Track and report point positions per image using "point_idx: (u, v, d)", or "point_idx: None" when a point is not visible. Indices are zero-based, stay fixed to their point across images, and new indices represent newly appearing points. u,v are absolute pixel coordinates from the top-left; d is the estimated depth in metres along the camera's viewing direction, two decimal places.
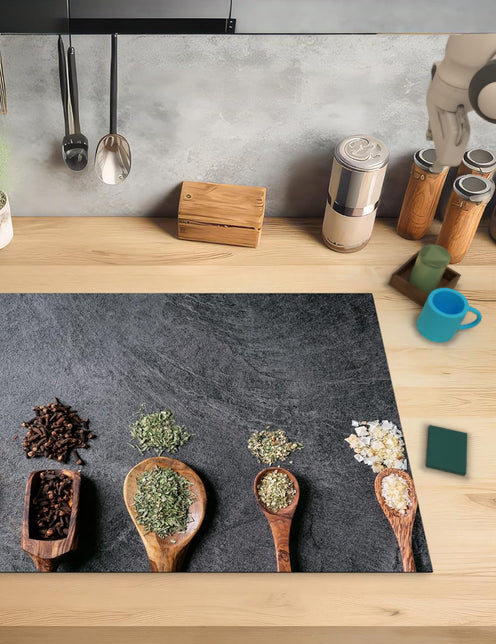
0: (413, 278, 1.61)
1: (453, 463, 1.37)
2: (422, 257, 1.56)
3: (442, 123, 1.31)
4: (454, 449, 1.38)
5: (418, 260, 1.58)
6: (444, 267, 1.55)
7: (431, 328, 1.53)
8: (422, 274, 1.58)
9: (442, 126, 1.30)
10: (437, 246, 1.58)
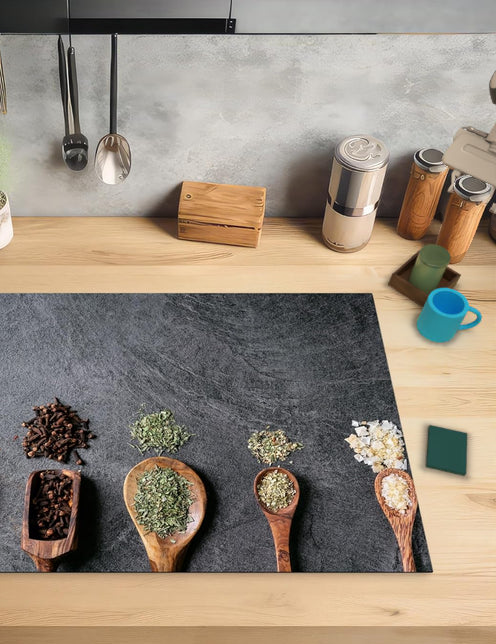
0: (413, 278, 1.61)
1: (453, 463, 1.37)
2: (422, 257, 1.56)
3: None
4: (454, 449, 1.38)
5: (418, 260, 1.58)
6: (444, 267, 1.55)
7: (431, 328, 1.53)
8: (422, 274, 1.58)
9: None
10: (437, 246, 1.58)
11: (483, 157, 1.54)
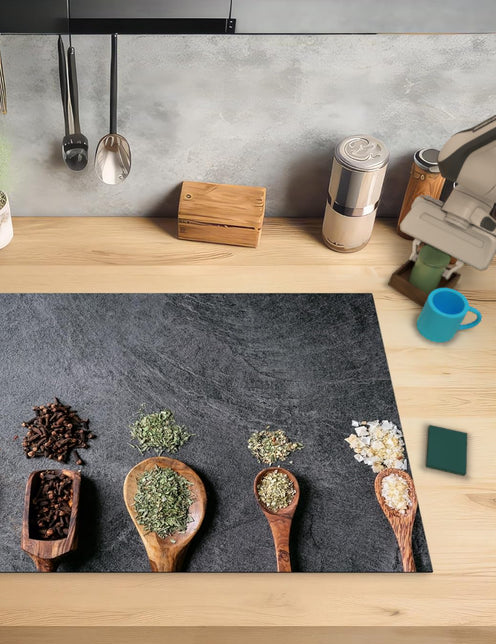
0: (413, 278, 1.61)
1: (453, 463, 1.37)
2: (422, 257, 1.56)
3: None
4: (454, 449, 1.38)
5: (418, 260, 1.58)
6: (444, 267, 1.55)
7: (431, 328, 1.53)
8: (422, 274, 1.58)
9: None
10: None
11: (439, 226, 1.57)
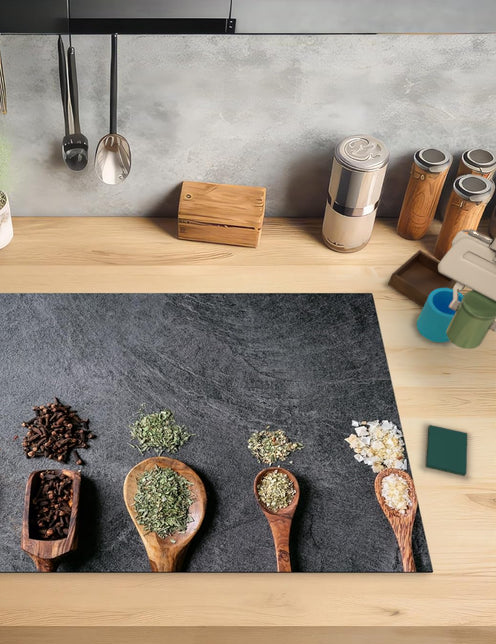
0: (454, 329, 1.32)
1: (453, 463, 1.37)
2: (466, 306, 1.28)
3: None
4: (454, 449, 1.38)
5: (461, 309, 1.29)
6: (493, 319, 1.27)
7: (431, 328, 1.53)
8: (465, 327, 1.30)
9: None
10: None
11: (487, 268, 1.28)
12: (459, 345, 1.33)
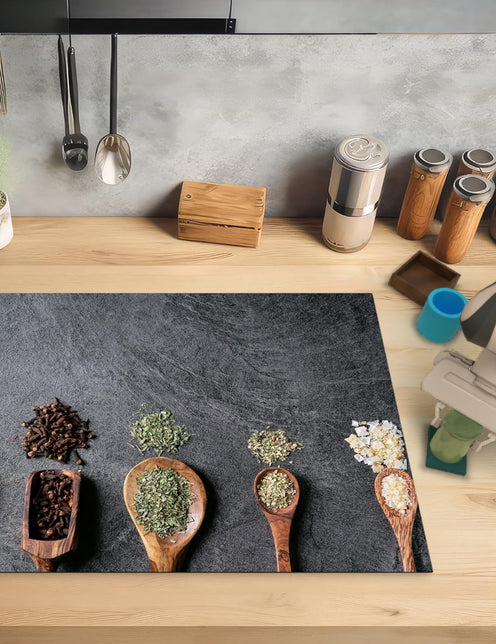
0: (437, 445, 1.36)
1: (453, 463, 1.37)
2: (448, 427, 1.31)
3: None
4: None
5: (443, 428, 1.32)
6: (474, 439, 1.30)
7: (431, 328, 1.53)
8: (447, 445, 1.33)
9: None
10: None
11: (468, 390, 1.32)
12: (442, 460, 1.37)
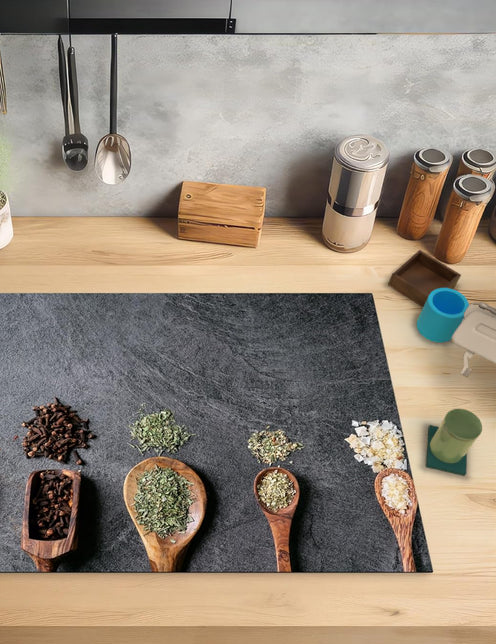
0: (437, 445, 1.36)
1: (453, 463, 1.37)
2: (448, 427, 1.31)
3: None
4: None
5: (443, 428, 1.32)
6: (474, 439, 1.30)
7: (431, 328, 1.53)
8: (447, 445, 1.33)
9: None
10: (465, 411, 1.33)
11: None
12: (442, 460, 1.37)
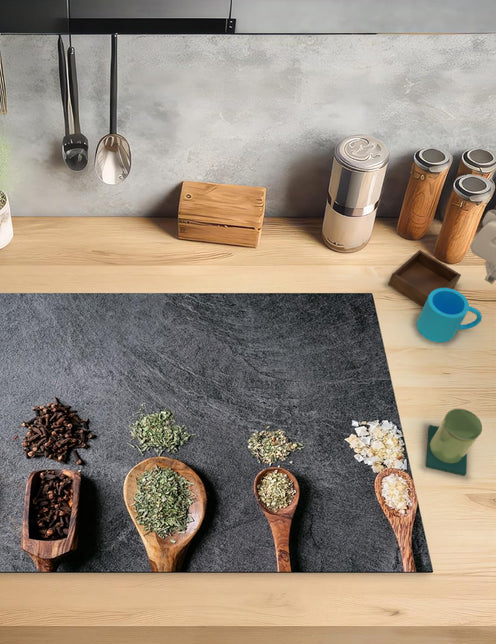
0: (437, 445, 1.36)
1: (453, 463, 1.37)
2: (448, 427, 1.31)
3: None
4: None
5: (443, 428, 1.32)
6: (474, 439, 1.30)
7: (431, 328, 1.53)
8: (447, 445, 1.33)
9: None
10: (465, 411, 1.33)
11: None
12: (442, 460, 1.37)
